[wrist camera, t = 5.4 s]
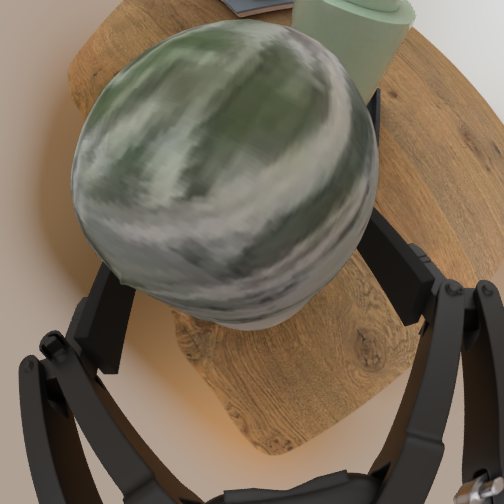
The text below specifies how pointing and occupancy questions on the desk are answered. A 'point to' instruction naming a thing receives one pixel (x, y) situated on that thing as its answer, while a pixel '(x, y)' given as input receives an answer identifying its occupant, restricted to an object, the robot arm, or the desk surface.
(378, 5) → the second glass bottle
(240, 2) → the woven storage basket
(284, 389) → the desk surface
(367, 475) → the robot arm
